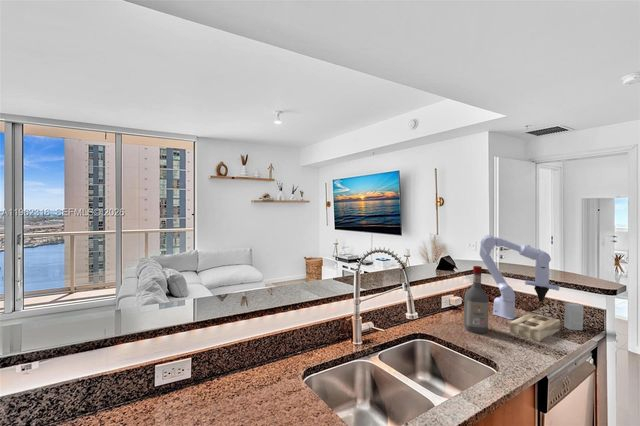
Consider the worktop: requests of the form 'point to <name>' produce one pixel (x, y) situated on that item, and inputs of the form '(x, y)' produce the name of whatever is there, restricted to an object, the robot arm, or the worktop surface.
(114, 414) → the worktop surface
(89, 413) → the worktop surface
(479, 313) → the liquor
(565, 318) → the skincare box
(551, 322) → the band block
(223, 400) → the worktop surface
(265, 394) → the worktop surface
